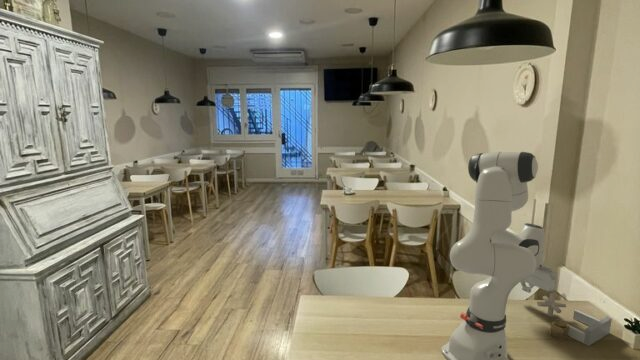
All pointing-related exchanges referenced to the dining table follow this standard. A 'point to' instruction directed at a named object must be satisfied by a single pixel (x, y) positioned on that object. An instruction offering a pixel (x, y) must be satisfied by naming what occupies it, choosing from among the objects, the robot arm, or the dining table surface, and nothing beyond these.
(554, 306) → the beige crossed rod piece
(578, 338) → the socket cradle
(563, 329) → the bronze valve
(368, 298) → the dining table surface
